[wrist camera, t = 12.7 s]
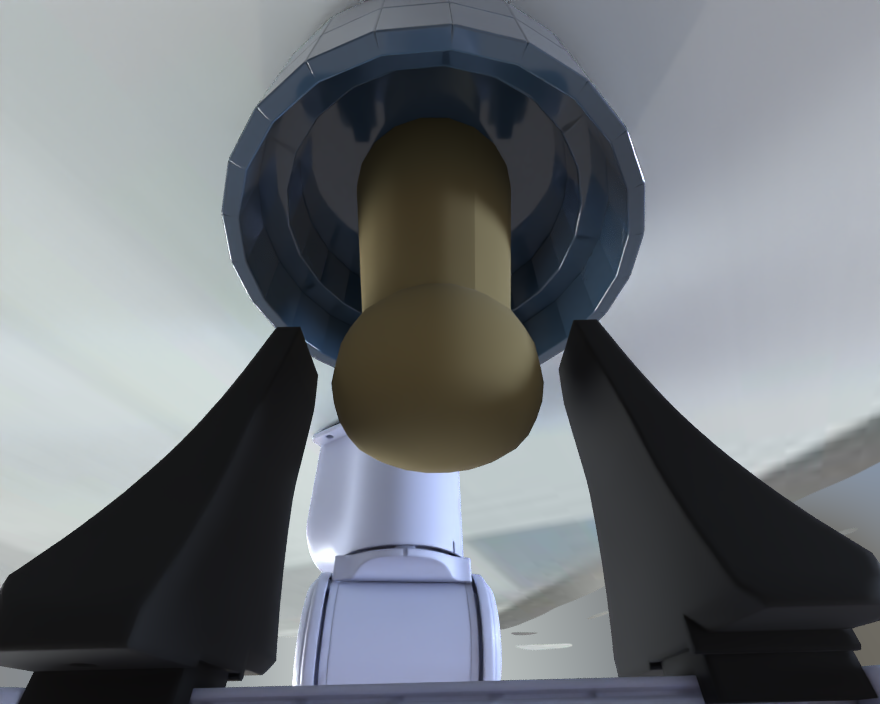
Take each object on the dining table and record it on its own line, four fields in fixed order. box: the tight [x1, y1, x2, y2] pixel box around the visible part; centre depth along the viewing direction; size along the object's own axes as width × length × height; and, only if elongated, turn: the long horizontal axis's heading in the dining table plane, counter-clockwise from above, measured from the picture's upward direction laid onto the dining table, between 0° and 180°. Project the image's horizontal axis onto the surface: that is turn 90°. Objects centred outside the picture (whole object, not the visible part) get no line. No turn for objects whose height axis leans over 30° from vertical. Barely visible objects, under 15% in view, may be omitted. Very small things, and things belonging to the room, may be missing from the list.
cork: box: [332, 118, 544, 473], centre depth 14 cm, size 6×6×11 cm
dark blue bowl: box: [222, 0, 645, 368], centre depth 16 cm, size 13×13×5 cm
